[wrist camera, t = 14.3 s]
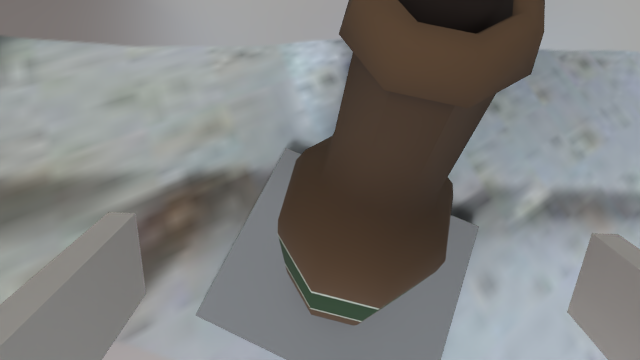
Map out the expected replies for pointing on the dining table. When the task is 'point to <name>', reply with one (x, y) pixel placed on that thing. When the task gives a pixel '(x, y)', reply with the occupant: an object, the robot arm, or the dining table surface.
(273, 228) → the slate board
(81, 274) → the robot arm
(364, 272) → the beer bottle
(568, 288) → the dining table surface
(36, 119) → the dining table surface
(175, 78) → the dining table surface
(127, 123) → the dining table surface
